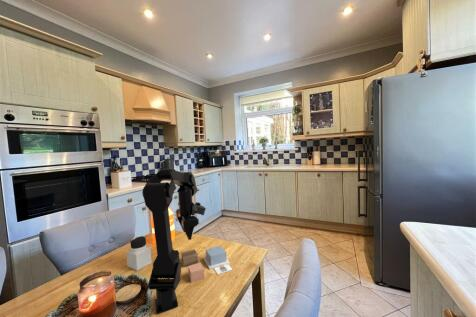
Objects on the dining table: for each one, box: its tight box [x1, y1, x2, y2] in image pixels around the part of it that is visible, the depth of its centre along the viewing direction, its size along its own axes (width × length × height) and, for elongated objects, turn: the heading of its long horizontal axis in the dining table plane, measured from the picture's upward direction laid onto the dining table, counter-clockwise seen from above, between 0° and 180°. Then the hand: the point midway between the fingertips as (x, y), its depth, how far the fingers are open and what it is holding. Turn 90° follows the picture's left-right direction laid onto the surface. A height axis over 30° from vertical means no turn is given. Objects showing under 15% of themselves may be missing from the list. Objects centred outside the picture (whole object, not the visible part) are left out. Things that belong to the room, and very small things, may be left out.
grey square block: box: [203, 245, 231, 270], centre depth 89 cm, size 9×9×5 cm
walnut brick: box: [180, 248, 199, 268], centre depth 90 cm, size 6×6×4 cm
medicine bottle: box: [126, 235, 153, 272], centre depth 89 cm, size 7×7×12 cm
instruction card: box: [213, 264, 233, 275], centre depth 83 cm, size 4×6×1 cm
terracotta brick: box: [187, 262, 205, 284], centre depth 79 cm, size 5×5×4 cm
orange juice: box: [150, 206, 176, 245], centre depth 111 cm, size 8×9×20 cm
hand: (187, 235), depth 89 cm, fingers open, 9 cm apart
